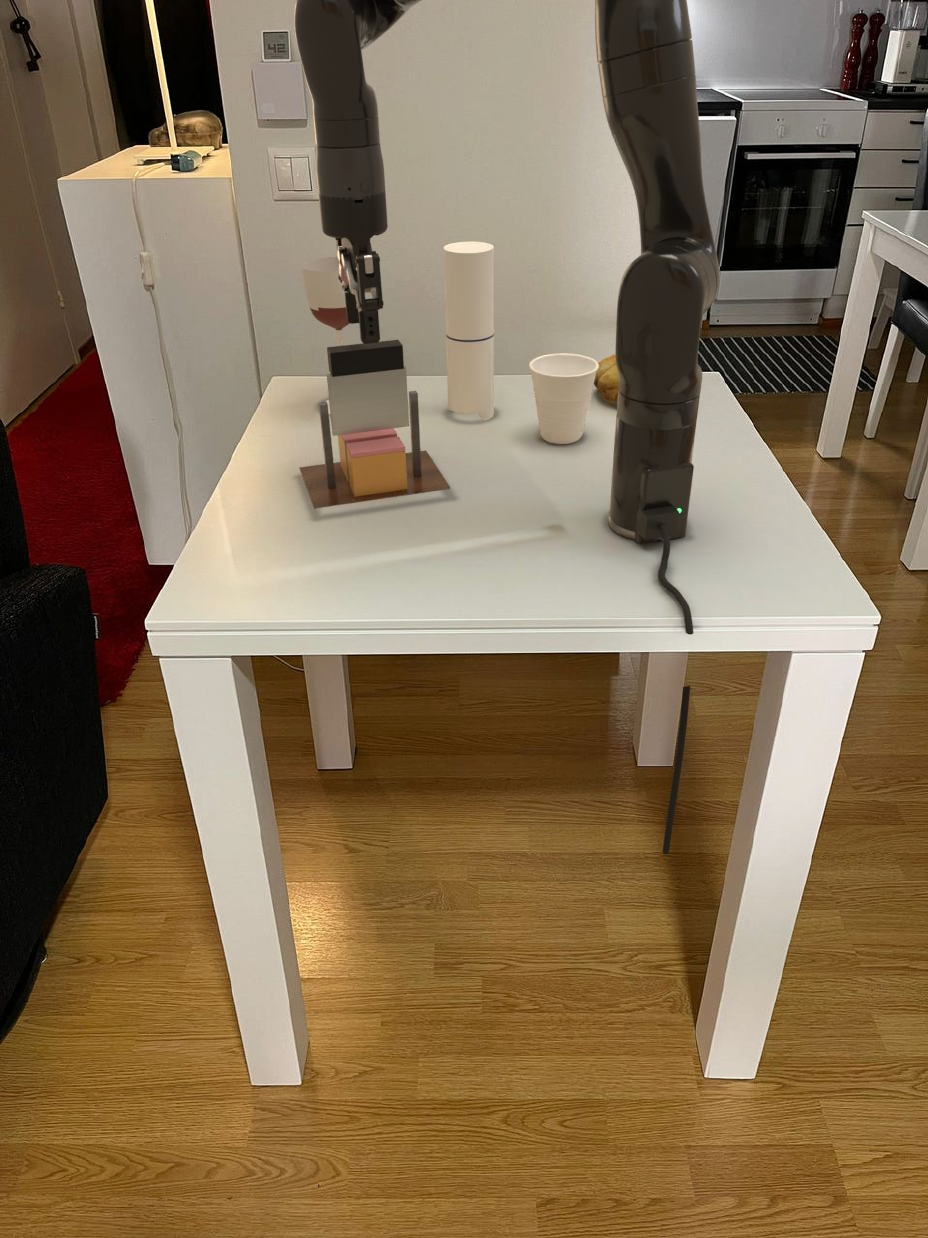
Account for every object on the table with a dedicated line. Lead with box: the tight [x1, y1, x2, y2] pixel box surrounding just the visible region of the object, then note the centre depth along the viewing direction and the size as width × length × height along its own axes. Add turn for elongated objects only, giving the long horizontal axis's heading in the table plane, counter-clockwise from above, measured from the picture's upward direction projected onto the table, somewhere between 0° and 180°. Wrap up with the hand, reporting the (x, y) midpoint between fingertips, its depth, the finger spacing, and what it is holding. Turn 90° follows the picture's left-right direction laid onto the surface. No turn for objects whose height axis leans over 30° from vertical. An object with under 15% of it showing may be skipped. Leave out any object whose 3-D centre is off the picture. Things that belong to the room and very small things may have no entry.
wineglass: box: [300, 256, 351, 415], centre depth 149 cm, size 9×10×22 cm
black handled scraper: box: [326, 339, 410, 437], centre depth 122 cm, size 2×10×11 cm, turn 106°
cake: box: [337, 428, 407, 497], centre depth 128 cm, size 10×7×6 cm
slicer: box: [298, 390, 452, 509], centre depth 126 cm, size 13×18×13 cm
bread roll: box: [593, 354, 619, 404], centre depth 153 cm, size 13×10×8 cm
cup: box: [528, 352, 599, 445], centre depth 140 cm, size 10×10×11 cm
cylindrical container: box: [443, 241, 495, 422], centre depth 145 cm, size 7×7×25 cm
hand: (363, 332), depth 118 cm, fingers open, 8 cm apart
